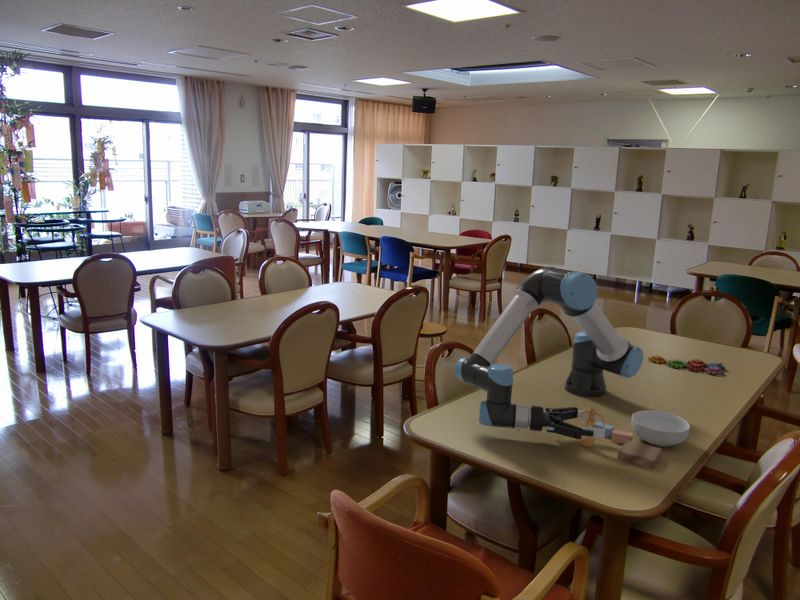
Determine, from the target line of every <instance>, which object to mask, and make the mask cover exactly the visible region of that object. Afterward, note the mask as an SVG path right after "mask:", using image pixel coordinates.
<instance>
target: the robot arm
mask: <svg viewBox="0 0 800 600" xmlns="http://www.w3.org/2000/svg"><path fill="white" fill-rule="evenodd" d="M597 290H598V287H597V282H596V281H595V279H594V278H593V277H592V276H591V275H589V274H587V273H584V272H582V271H579V270H578V271H577V270H576V271H575V270H568V269H564V268H559V267H558V268H557V267H555V266H545V267H541V268H539V269H536V270H534V271H533V272H532V273H530V274H529V275H527V276H526V277H525V278H524V279H523V280H522V281H521V282H520V283H519V284H518V286H517V287H516V288H515V289H514V290H513V297H512V299H511V300H510V301H509V303H508V304H507V305H506V307H505V308H504V310H503V311H502V312H501V313H500V315H499V316H498V317H497V319H496V321H495V322H494V323H493V325H492V326H491V327H490V329H489V330H488V331H487V333H486V334H485V336H484V337H483V338H482V339H481V341H480V343H478V345H477V346H476V348H475V349H474V351H473V352H472V353H471V355H470V356H469V357H462V358H460V359H458V361H457V362H456V363H455V366H454V375H455V376H456V378H457V379H459V381H460V380H461V381H462V382H464V383H465V384H468V385H471V386H473V387H476V388H478V389H480V390H483V391H484V392H486V400H482V401H481V402H480V403H479V413H478V422H479V424H480V425H481V426H486V427H487V426H488V427H493V428H505V429H513V430H514V429H516V430H518V431H521V430H526V431H528V429H529V430H530V432H531V431H532V432H533V431H534V432H542V431H543V427H544V428H546V433H552V434H556V435H561V436H564V437H568V438H571V439H575V440H581V437H582V436H585V437H593V438H594V439H595V438H596V439H605V438H606V437H605V429H601V428H592V427H591V426H590V427H589V426H587V427H586V426H581V427H579V426H578V425H577V426H576V425H574V424H572V423H569V422H566V421H568V420H573V419H577V418H578V416H579V415H580V414H581V412H582V411H583V410H578V409H579V408H578V407H576V406H571V407H569V406H568V407H556V408H555V407H554V408H553V407H546V408H544V407H543V406H540V405H539V406H538V405H537V406H536V405H532V406H531V405H530V406H529V404H519V403H516V404H515V403H512V394H513V385H514V376H513V375H514V374H513V373H514V371H513V368H512V367H511V366H510V365H508V364H503V363H495V362H496V360H498V358H499V357H500V356H501V354H502V352H503V351H504V350H505V348H506V347H507V345H508V344H510V342H511V340H512V339H513V337H514V336H515V335H516V333H517V332H518V331H519V329H520V328H521V326H522V325H523V324H524V322H525V321H526V320H527V318H528V317H529V315H530V314H531V312H532V311H533V310H536V309H538V308H539V307H540V305H541V304H543V303H544V302H547V303H550V304H555V305H557V306H559V308H560V309H561V311H562V312H564V314H565V315H567V316H568V317H570V318H571V317H572V318H574V320H575V321H576V323H578V325H579V327H581V329H582V330H583V331H578V332H576V333H575V335H574V338H573V342H572V343H573V345H572V357H571V358H572V359H571V369H570V371H569V373H568V376H567V377H566V380H565V381H564V383H565V384H564V389H565V390H566V391H568V392H569V393H571V394H573V395H576V396H582V397H588V398H590V397H592V398H593V397H594V398H595V397H596V398H598V397H602V396H605V395H606V392H607V385H606V384H607V383H606V381H605V376H604V371H606V372H608V373H612V374H613V375H614V374H615V375H618V376H619V377H620V376H621V377H623V378H624V377H625V378H633V377H635V376H636V374H638V372H640V368H641V367H642V364H643V362H644V352H643V351H644V350H643V349H642V348H641V347H639V346H637V345H633V344H631V343H630V341H629V340H628V338H627V337H626V336H624V335H623V334H621V333H619V332H617V331H616V329H615V328H614V327H613V325H612V324H611V323H610V320H608V318H607V316H606V315H605V314H604V313H603V310H601V308H600V307H599V305H598V304H597V303H596V300H597V297H598V291H597ZM544 409H545V410H544ZM587 418H588V419H589V415H588V412H585V413H582V415H581V416H580V417H579V419H578V420H579V421H580V420H581V421H586V420H587ZM593 420H595V422H597V421H598V422H600V416H599V415H598V414H596V415H595V417H594V419H593Z"/></svg>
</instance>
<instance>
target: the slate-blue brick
mask: <svg viewBox="0 0 800 600" xmlns="http://www.w3.org/2000/svg"><path fill="white" fill-rule="evenodd" d="M602 424H603V422H601V421H599V422H598V421H595V425H594V427H593V428H601V429H605V438H607V439H608V438H612V432H613V430H615V426H613V425H609V424H607V423H604V425H602ZM603 426H604V427H603Z"/></svg>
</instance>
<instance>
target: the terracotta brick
mask: <svg viewBox="0 0 800 600" xmlns="http://www.w3.org/2000/svg"><path fill="white" fill-rule="evenodd" d="M633 437H634V432H631V431H630V432H629V431H625V430H618V429H614V430H613V432H612V436H611V442H614V443H620V444H623V445H624V443H625V442H626V441H627V440H630V441H633Z"/></svg>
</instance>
